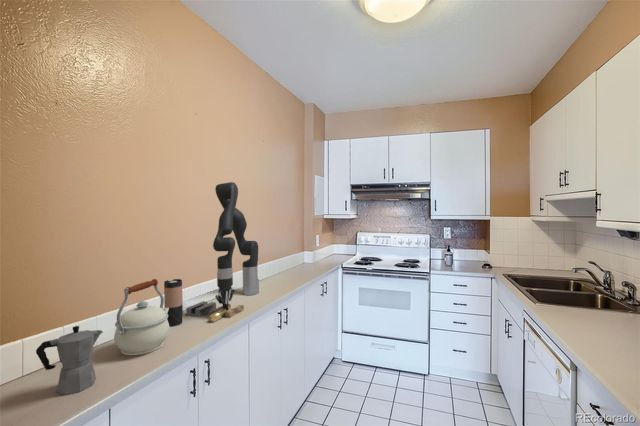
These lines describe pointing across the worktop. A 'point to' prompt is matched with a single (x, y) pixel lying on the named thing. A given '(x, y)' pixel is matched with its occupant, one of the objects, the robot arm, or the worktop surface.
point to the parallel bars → (230, 312)
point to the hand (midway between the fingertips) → (225, 310)
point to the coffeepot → (72, 359)
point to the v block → (200, 309)
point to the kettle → (141, 324)
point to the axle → (217, 315)
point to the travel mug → (173, 301)
